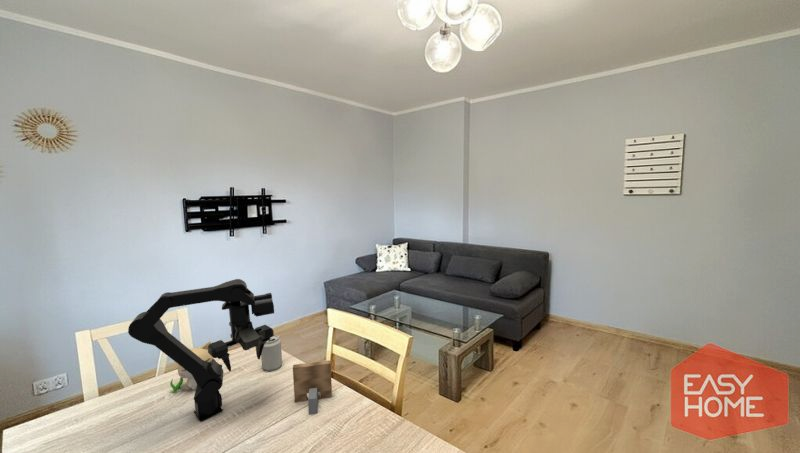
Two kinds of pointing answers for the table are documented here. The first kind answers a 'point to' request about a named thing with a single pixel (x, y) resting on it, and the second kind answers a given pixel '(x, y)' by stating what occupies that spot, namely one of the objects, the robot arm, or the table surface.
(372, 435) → the table surface
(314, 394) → the charcoal rail
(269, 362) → the can
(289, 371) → the table surface
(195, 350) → the kitten
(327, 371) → the walnut plate
